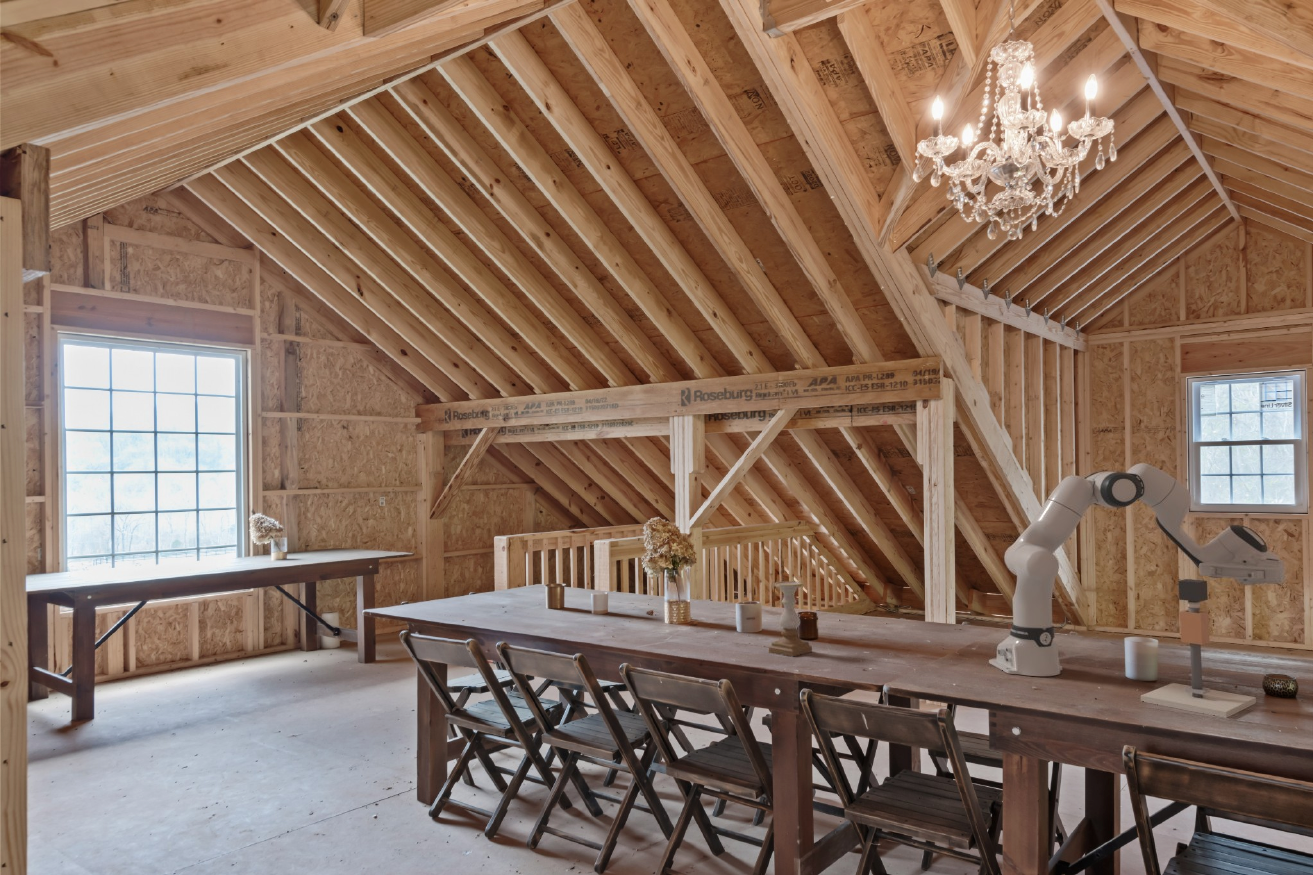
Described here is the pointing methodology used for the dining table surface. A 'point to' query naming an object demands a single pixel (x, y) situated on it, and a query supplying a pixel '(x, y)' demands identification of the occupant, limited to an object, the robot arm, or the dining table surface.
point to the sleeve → (1194, 627)
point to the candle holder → (789, 624)
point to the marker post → (1197, 673)
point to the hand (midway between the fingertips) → (1230, 573)
